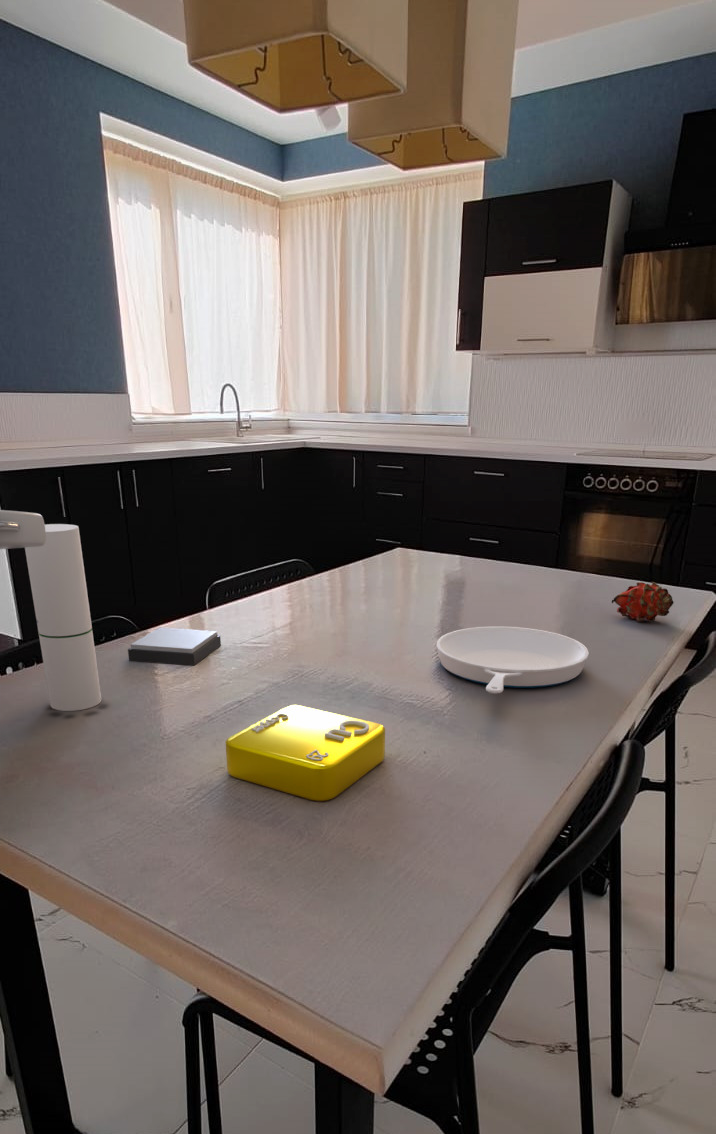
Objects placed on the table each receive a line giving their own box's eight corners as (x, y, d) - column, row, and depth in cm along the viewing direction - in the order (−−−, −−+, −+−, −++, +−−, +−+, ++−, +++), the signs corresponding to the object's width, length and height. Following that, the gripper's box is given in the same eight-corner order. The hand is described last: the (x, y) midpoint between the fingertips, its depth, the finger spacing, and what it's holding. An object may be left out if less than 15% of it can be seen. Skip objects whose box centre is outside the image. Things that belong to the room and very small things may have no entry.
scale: (128, 660, 131) (126, 644, 130) (159, 641, 142) (158, 626, 141) (194, 665, 129) (193, 649, 128) (221, 645, 140) (220, 630, 139)
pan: (587, 652, 138) (590, 627, 136) (583, 731, 104) (587, 700, 103) (449, 640, 144) (450, 616, 142) (403, 711, 111) (404, 681, 109)
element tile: (292, 732, 103) (291, 698, 101) (390, 756, 96) (391, 721, 94) (220, 774, 91) (217, 737, 90) (326, 806, 84) (326, 766, 83)
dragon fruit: (673, 631, 157) (612, 633, 162) (674, 600, 161) (614, 602, 166) (673, 603, 150) (609, 606, 155) (674, 571, 154) (612, 575, 159)
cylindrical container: (97, 691, 117) (74, 522, 108) (105, 706, 112) (82, 530, 102) (47, 697, 115) (19, 525, 105) (53, 714, 109) (24, 533, 99)
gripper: (-8, 492, 79) (73, 505, 92) (-166, 506, 84) (-69, 516, 97) (0, 555, 80) (79, 559, 93) (-157, 565, 85) (-62, 567, 98)
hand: (2, 537), depth 95 cm, fingers open, 8 cm apart
